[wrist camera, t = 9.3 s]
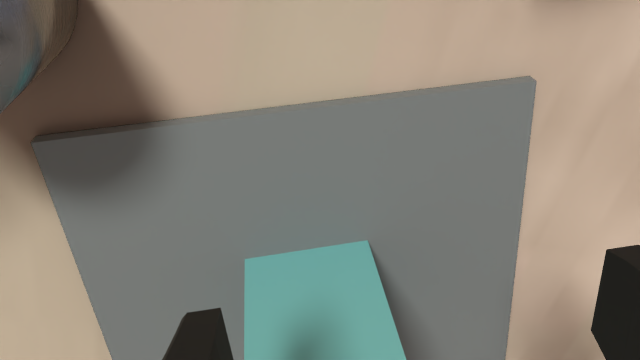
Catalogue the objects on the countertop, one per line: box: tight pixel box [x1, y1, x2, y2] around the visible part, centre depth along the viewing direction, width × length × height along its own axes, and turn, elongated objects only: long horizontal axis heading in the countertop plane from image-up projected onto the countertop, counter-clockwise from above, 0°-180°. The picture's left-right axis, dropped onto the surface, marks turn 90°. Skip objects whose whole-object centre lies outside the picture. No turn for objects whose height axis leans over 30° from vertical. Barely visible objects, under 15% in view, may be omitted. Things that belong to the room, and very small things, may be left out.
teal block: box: [244, 240, 406, 360], centre depth 19 cm, size 4×4×6 cm
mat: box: [31, 76, 536, 360], centre depth 22 cm, size 16×16×1 cm
